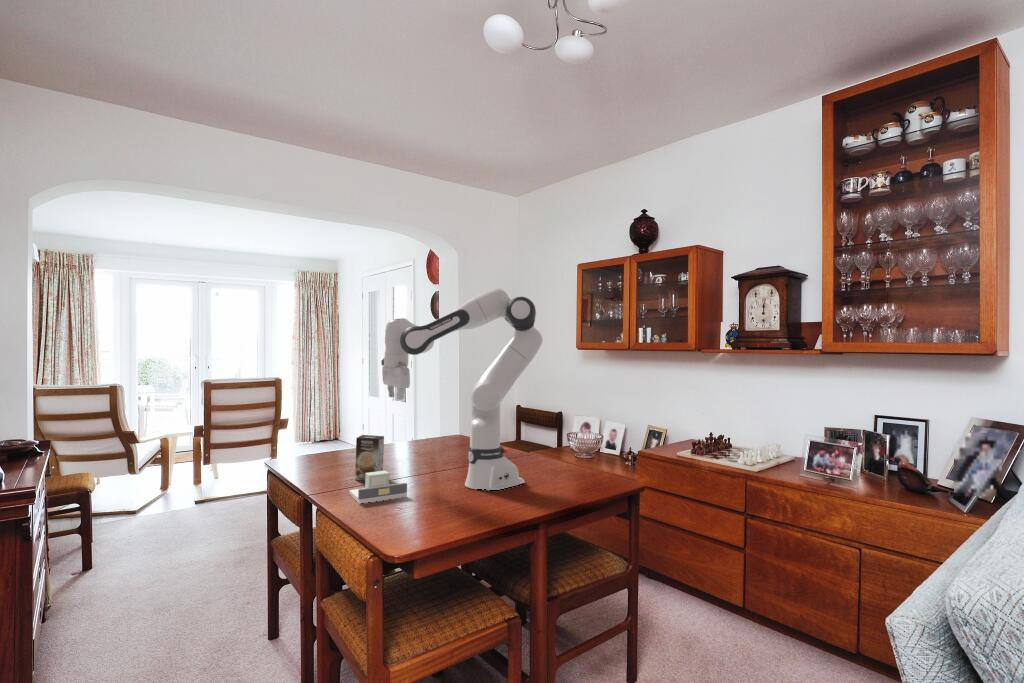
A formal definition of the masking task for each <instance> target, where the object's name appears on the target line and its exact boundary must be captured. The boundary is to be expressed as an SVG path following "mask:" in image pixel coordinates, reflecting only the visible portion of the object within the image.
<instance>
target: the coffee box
mask: <svg viewBox="0 0 1024 683" xmlns="http://www.w3.org/2000/svg"><path fill="white" fill-rule="evenodd" d="M355 444H356V445H355V469H354V470H355V473H354V480H355V481H365V473H369V472H377V471H384V452H385V450H384V449H385V448H384V447H385V436H384V435H372V434H362V435H359V436H357V437H356V441H355Z"/></svg>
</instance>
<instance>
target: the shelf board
mask: <svg viewBox="0 0 1024 683" xmlns="http://www.w3.org/2000/svg"><path fill="white" fill-rule="evenodd" d="M348 492H349V493H348V494H350V495H351V496H352V497H353V498H354V499H355V500H356V501H357V502H358V503H359V504H358V503H357V502H356V501H355V500H354V499H353V498H352V497H351V496H350V495H349V496H350V497H351V498H352V499H353V500H354V501H355V502H356V503H357V504H358V505H361V504H360V503H364V504H369V503H368V502H371V503H377V502H383V500H384V501H390V500H389V499H391V500H397V499H403V498H402V497H404V498H407V497H408V496H407V495H408V483H407V482H401V483H394V484H393V483H392V484H389V485H386V486H379V487H372V488H365V487H362V488H356V489H349V490H348ZM396 498H397V499H396ZM376 501H377V502H376Z"/></svg>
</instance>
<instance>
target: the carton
mask: <svg viewBox="0 0 1024 683" xmlns="http://www.w3.org/2000/svg"><path fill="white" fill-rule="evenodd" d="M364 482H365V484H364V485H365V486H364V488H372V487H379V486H386V485H390V472H389V471H387V470H383V471H377V472H369V473H365V480H364Z"/></svg>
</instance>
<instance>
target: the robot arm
mask: <svg viewBox="0 0 1024 683" xmlns="http://www.w3.org/2000/svg"><path fill="white" fill-rule="evenodd" d="M499 318H503V319H504V320H505V321H506V322H508V324H509V325H510V326H511V327H512V328H514V333H513V335H512V336H511V339H510V340H509V341H508V342H507V343H506V344H505V346H504V347H503V348H502V349H501V351H499V353H498V355H497V356H496V357H495V359H494V360H493V361H492V362H491V363H490V365H489V367H487V369H486V371H485V372H484V373H483V374H482V375H481V377H480V378H479V379H478V380H477V381H476V382H475V383H474V384H473V385H472V387H471V392H470V425H469V426H470V429H469V431H470V432H469V433H470V435H469V446H468V469H467V470H468V471H467V476H466V479H465V483H464V486H465V487H467V488H468V489H472V490H477V489H482V490H481V491H490V490H500V489H504V488H508V487H511V486H515V485H519V484H522V483H525V484H526V482H525V479H523V478H522V477H520V475H519V469H518V467H517V465H516V464H514V463H513V462H512V461H511V460H510V459H508V458H507V456H505V455H504V454H509V453H510V449H509V448H508V447H502V446H501V403H502V402H503V399H504V398H505V397H506V395H508V393H509V391H510V390H511V389H512V387H513V386H514V384H515V383H516V381H517V380H518V378H519V377H520V376H521V374H522V373H523V372H524V371H525V369H526V368H527V367H528V366H529V364H530V363H531V362H532V360H533V359H534V358H535V356H536V354H537V353H538V351H539V350H540V348H541V346H542V344H543V336H542V334H541V332H540V331H539V330H538V329H536V327H535V322H536V319H537V310H536V305H535V304H534V302H533V301H532V300H531V299H530V298H528V297H525V296H516V297H514V298H512V299H511V298H510V297H509V295H508V294H507V292H506V291H505V290H504V289H502V288H494V289H490V290H487V291H485V292H482V293H480V294H477V295H475V296H473V297H471V298H469V299H468V300H466V301H465V302H463V303H462V304H460V305H459V306H458V307H456V308H455V309H454V310H452V311H451V312H449V313H447V314H446V315H444V316H442V317H440V318H437V319H436V320H433V321H432V322H430V323H428V324H424V325H417V324H414V323H412V322H411V321H410V320H408V319H407V318H405V317H404V318H403V317H402V318H395V319H391V320H389V321H388V322H387V323H386V326H385V331H384V332H385V335H384V344H385V350H384V357H383V358H382V359H381V361H380V363H381V364H380V365H381V366H382V372H381V373H382V376H381V377H382V384H384V385H386V386H387V391H388V397H389V398H395V392H394V391H395V390H394V388H397V391H398V392H397V394H396V399H397V400H399V401H402V400H404V394H405V390H406V389H409V388H410V386H411V374H410V368H409V367H408V366H409V355H412V356H415V355H420V354H424V353H427V352H429V351H430V350H432V348H433V346H434V344H435V341H436V340H438V339H440V338H442V337H444V336H447V335H448V334H450V333H453V332H457V331H460V330H461V331H462V330H473V329H475V328H479V327H482V326H485V325H487V324H488V323H490V322H492V321H494V320H496V319H499ZM484 489H486V490H484ZM508 489H509V488H508ZM504 490H505V489H504ZM500 491H501V490H500Z"/></svg>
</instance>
